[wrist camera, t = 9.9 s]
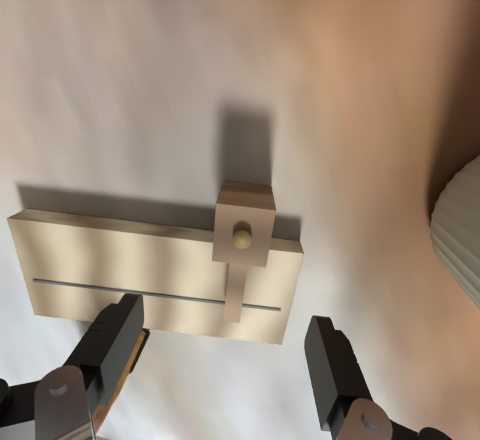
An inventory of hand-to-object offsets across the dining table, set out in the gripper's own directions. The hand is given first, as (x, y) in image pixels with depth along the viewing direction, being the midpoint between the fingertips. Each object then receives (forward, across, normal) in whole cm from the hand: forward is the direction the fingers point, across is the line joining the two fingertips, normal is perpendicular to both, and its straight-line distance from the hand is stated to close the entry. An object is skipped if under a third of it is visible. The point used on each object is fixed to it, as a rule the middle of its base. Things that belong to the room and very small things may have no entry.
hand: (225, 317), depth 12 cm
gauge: (+14, -1, +4) cm, 15 cm away
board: (+14, +7, +9) cm, 19 cm away
